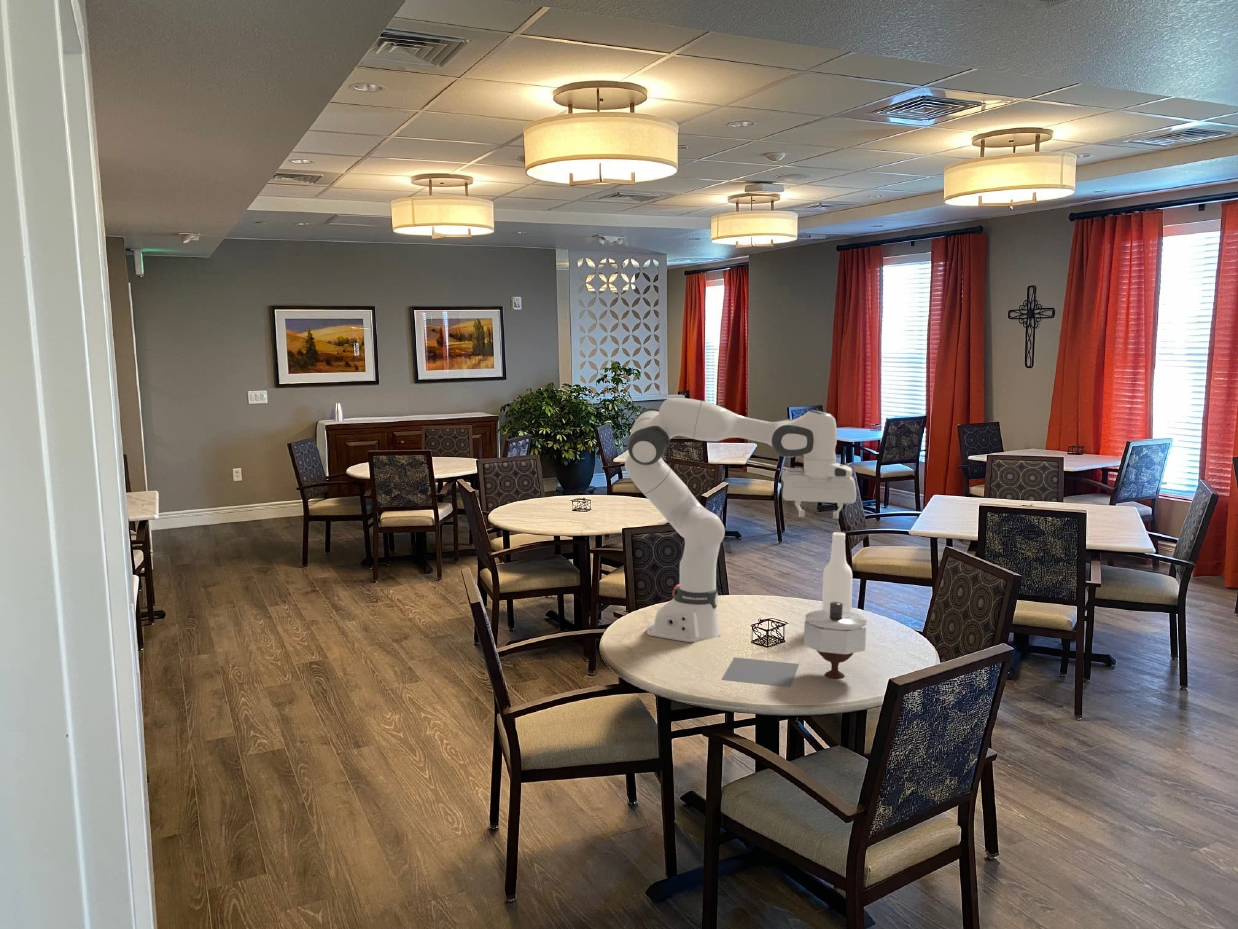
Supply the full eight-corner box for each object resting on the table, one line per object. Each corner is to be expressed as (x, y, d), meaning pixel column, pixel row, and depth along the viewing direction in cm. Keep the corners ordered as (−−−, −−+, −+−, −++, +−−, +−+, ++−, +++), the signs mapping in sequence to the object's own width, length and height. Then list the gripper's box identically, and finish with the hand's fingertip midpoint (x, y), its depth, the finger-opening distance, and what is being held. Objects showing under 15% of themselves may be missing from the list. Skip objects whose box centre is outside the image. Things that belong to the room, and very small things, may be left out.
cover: (801, 650, 234) (803, 608, 233) (807, 632, 249) (808, 593, 247) (864, 656, 229) (866, 614, 228) (866, 638, 244) (868, 598, 243)
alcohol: (820, 623, 286) (822, 530, 283) (848, 624, 286) (851, 530, 282) (823, 632, 278) (825, 536, 274) (852, 632, 277) (855, 536, 273)
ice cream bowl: (857, 685, 234) (859, 629, 232) (813, 682, 236) (814, 627, 234) (855, 671, 244) (856, 617, 242) (812, 668, 246) (814, 615, 244)
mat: (721, 681, 237) (721, 679, 237) (734, 658, 254) (734, 657, 254) (790, 688, 232) (790, 687, 232) (799, 665, 249) (799, 663, 249)
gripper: (780, 468, 254) (779, 517, 255) (856, 471, 247) (854, 521, 249) (783, 466, 260) (782, 513, 261) (857, 468, 253) (856, 517, 255)
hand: (818, 517), depth 255 cm, fingers open, 8 cm apart
